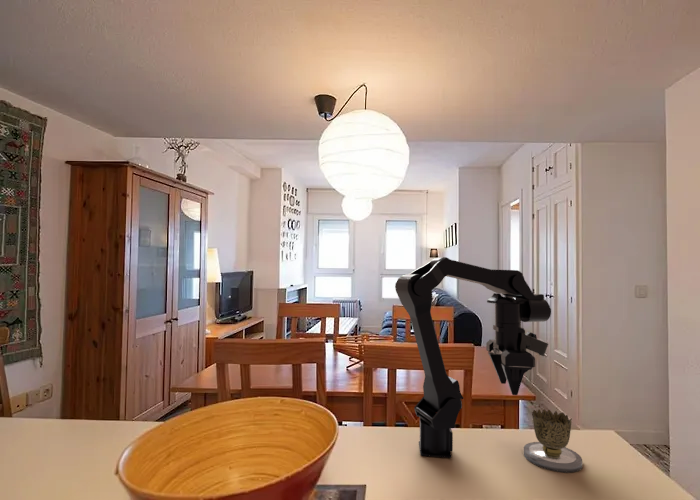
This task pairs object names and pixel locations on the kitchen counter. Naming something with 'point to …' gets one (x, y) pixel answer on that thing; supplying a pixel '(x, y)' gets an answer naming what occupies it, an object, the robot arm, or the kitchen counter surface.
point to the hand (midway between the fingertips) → (508, 388)
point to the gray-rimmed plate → (553, 458)
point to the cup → (552, 430)
